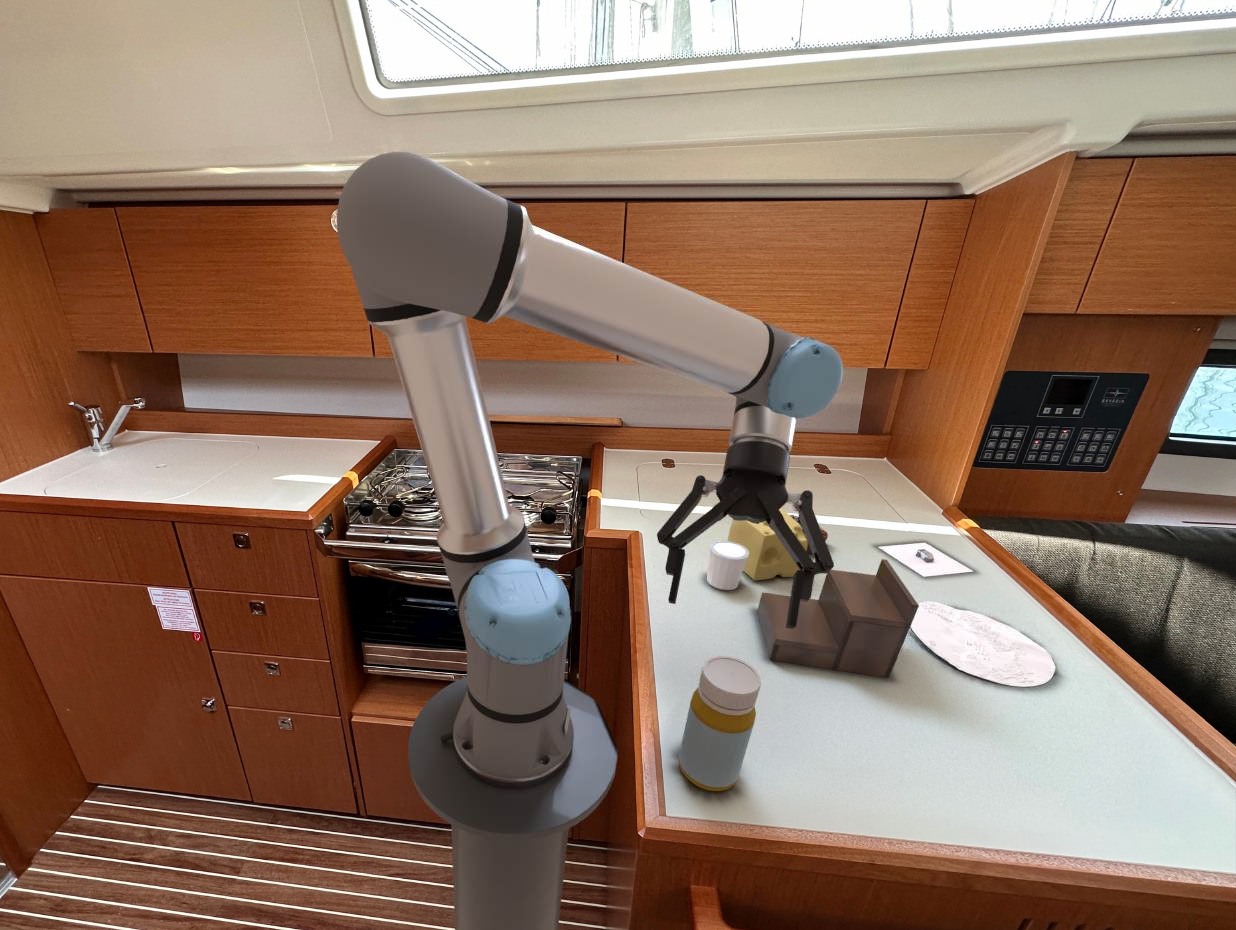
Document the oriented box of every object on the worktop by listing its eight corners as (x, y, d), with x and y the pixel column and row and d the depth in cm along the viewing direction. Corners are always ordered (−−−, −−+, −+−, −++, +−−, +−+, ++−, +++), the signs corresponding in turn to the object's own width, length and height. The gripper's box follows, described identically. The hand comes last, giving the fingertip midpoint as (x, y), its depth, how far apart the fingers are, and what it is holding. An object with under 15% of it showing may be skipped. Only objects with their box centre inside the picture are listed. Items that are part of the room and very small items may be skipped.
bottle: (685, 738, 75) (706, 646, 68) (741, 760, 72) (769, 666, 65) (670, 778, 69) (692, 682, 62) (731, 804, 66) (760, 706, 60)
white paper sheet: (923, 576, 113) (926, 570, 113) (877, 546, 124) (880, 540, 123) (973, 571, 116) (976, 564, 115) (924, 542, 126) (927, 536, 126)
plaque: (878, 611, 101) (881, 604, 101) (972, 603, 106) (975, 596, 105) (978, 694, 84) (983, 686, 84) (1086, 680, 88) (1091, 672, 88)
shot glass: (697, 582, 109) (703, 549, 105) (712, 568, 113) (719, 536, 110) (732, 596, 105) (740, 562, 102) (747, 581, 109) (755, 548, 106)
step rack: (769, 659, 89) (790, 588, 83) (757, 611, 101) (774, 545, 95) (889, 677, 87) (919, 605, 81) (862, 626, 98) (887, 559, 92)
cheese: (801, 577, 112) (814, 530, 107) (751, 582, 109) (763, 535, 104) (768, 550, 120) (779, 506, 116) (722, 555, 118) (731, 510, 113)
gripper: (860, 475, 73) (837, 641, 69) (661, 449, 82) (629, 597, 77) (877, 451, 67) (853, 635, 62) (658, 426, 75) (623, 587, 70)
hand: (729, 614), depth 70 cm, fingers open, 13 cm apart
